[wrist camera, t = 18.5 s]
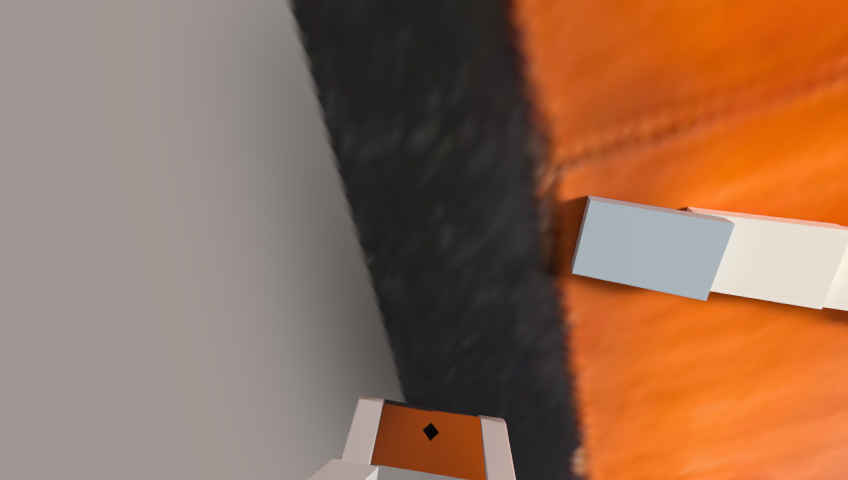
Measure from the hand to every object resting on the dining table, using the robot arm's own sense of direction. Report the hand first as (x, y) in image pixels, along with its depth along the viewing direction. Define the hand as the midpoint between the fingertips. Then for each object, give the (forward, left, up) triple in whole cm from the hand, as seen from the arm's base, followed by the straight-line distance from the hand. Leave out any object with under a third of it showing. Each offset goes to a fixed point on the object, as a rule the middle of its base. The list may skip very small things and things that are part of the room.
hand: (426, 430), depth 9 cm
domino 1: (0, +9, -20) cm, 22 cm away
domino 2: (0, +16, -20) cm, 26 cm away
